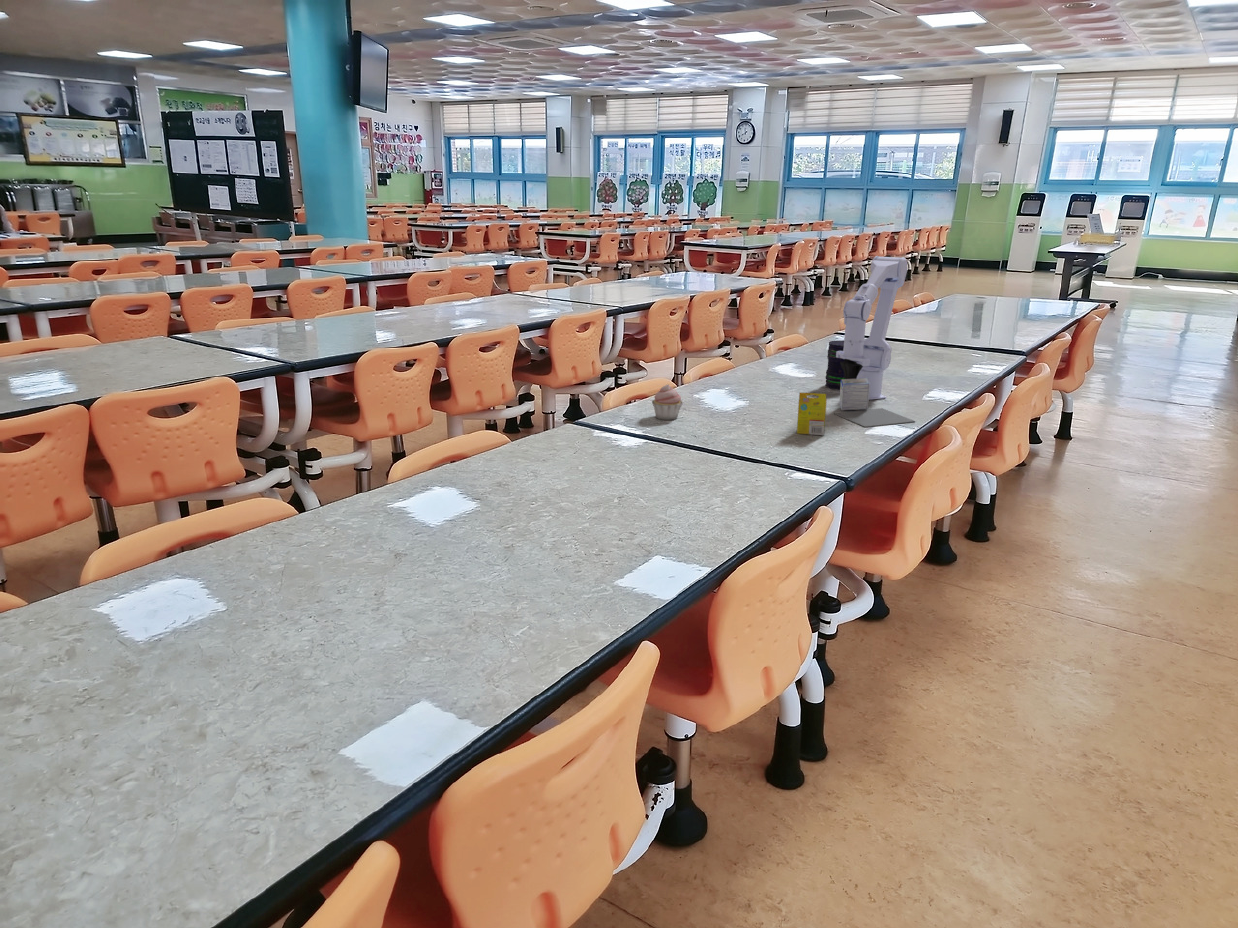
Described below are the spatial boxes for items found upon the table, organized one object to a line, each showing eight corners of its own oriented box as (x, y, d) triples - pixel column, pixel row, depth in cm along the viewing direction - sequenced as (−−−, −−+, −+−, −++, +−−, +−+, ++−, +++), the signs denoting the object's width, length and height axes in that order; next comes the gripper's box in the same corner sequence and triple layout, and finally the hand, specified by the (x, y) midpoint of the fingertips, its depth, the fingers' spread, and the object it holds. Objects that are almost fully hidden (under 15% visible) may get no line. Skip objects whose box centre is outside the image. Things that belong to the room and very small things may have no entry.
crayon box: (824, 433, 228) (827, 391, 225) (824, 435, 226) (827, 394, 222) (797, 430, 230) (800, 389, 227) (796, 433, 228) (799, 392, 224)
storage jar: (824, 389, 277) (828, 344, 272) (824, 382, 286) (828, 339, 281) (855, 391, 275) (859, 346, 270) (854, 384, 284) (858, 341, 279)
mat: (833, 413, 247) (833, 412, 247) (882, 409, 253) (882, 408, 253) (864, 427, 234) (864, 426, 233) (915, 422, 239) (915, 421, 239)
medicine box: (865, 404, 254) (867, 377, 250) (868, 410, 250) (870, 383, 246) (839, 405, 254) (840, 378, 251) (841, 411, 251) (842, 384, 247)
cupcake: (680, 422, 238) (681, 388, 235) (648, 420, 240) (649, 387, 237) (685, 414, 247) (685, 381, 244) (653, 412, 249) (654, 380, 246)
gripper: (829, 337, 253) (825, 381, 258) (856, 345, 240) (852, 391, 245) (849, 336, 256) (845, 379, 260) (877, 344, 243) (872, 389, 247)
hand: (850, 385), depth 253 cm, fingers closed
